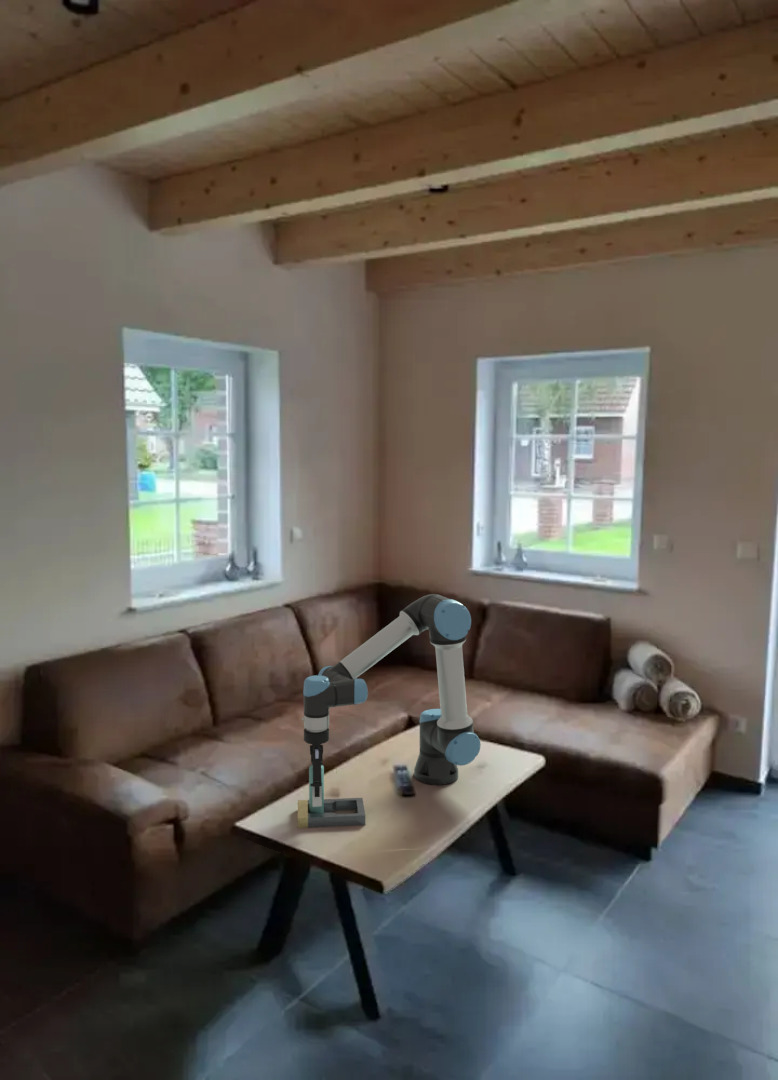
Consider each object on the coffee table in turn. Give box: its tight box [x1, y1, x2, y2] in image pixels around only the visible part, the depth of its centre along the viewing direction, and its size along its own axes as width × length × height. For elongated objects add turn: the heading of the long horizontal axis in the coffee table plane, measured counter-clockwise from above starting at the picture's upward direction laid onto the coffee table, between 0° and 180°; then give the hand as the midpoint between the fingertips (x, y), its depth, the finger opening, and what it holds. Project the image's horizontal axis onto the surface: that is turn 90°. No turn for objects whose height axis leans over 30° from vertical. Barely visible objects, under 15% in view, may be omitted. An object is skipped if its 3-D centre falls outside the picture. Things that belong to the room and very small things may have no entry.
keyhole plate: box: [297, 797, 366, 829], centre depth 239 cm, size 20×12×3 cm, turn 96°
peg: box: [308, 764, 325, 814], centre depth 238 cm, size 4×4×16 cm
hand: (316, 796), depth 238 cm, fingers open, 13 cm apart
